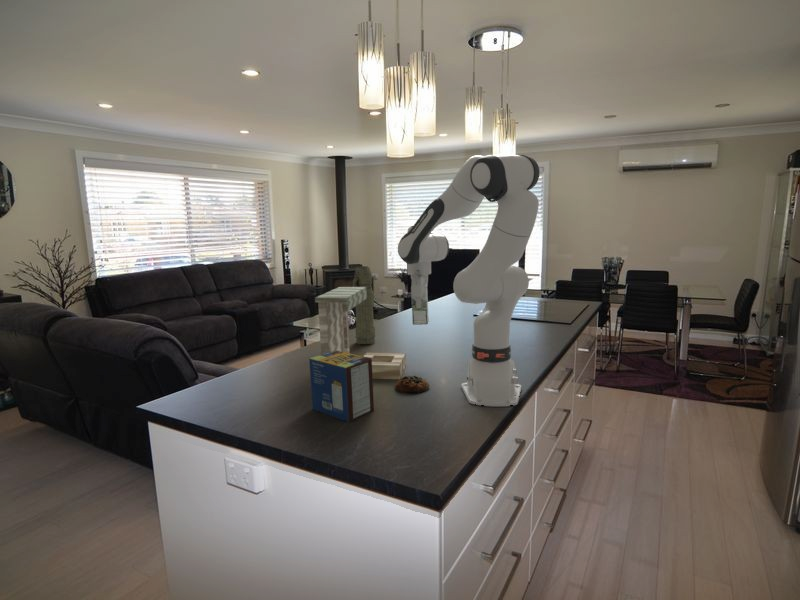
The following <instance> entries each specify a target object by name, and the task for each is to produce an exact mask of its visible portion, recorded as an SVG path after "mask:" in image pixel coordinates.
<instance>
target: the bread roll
mask: <svg viewBox="0 0 800 600" xmlns="http://www.w3.org/2000/svg"><path fill="white" fill-rule="evenodd" d="M430 386H431V385H430V383H429V382H428V381H427V380H426V379H425V378H423V377H420V376H416V375H413V376H412V375H411V376H410V375H408V376H407V375H406V376H403V377H401V378H400V379H398V380H397V382H396V383H395V385H394V388H395V390H396V391H397V392H400V393H402V394H408V395H416V394H417V395H418V394H421V393H424V392H426V391H427V390H429V389H430Z"/></svg>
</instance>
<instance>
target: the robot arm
mask: <svg viewBox="0 0 800 600" xmlns="http://www.w3.org/2000/svg"><path fill="white" fill-rule="evenodd" d="M539 179H540V167H539V164H538V163H537V161H536V160H535V159H534V158H532V157H531V156H528V155H526V154H525V155H524V154H510V153H499V154H488V155H484V156H483V155H480V154H479V155H478V154H477V155H473V156H471V157H469V158H468V159H467V160H466V162H464V164H463V165H462V166H461V167H460V169H459V171H457V173H456V175H455V176H454V177H453V179H452V181H451V182H450V184H449V185H448V186H447V188H446V189H445V190H444V192H442V193H441V195H439V196H438V197H437V198H436V199H434V200H433V201H431V203H430V204H429V205H427V207H426V208H425V209H424V211H423V212H422V214H421V215H420V216H419V218H418V219H417V220H416V222H415V223H414V224H413V225H411V226H410V227H408V228H407V233H405V234H403V236H402V237H401V238H400V240H399V241H398V245H397V254H398V256H399V257H400V259H401V260H402V261H403V262H404V263H406V270H407V271H406V272H407V275H408V276H410V279H411V286H412V297H413V298H415V300H416V308H421V307H422V303H421V299H422V296H423V295H424V285H425V284H427V287H428V284H429V275H431V274H432V262H439V261H442V260H445V259H446V258H447V256H448V255H449V252H450V251H449V250H450V243H449V241H448V238H447V237H446V236H445V235H444V234H441V233H438V232H436V231H434V230H435V228H437V227H438V226H439V225H442V224H443V223H446V222H449V221H452V220H456V219H460V218H461V219H462V218H466V217H467V216H470V215H472V214H473V212H475V211H476V210H477V209H478V208H479V206H480V205H481V204H482V202H483V201H484V199H486V200H487V201H488V202H489V203H494V202H497V211H496V214H495V216H494V220H493V222H492V226H491V227H490V231H489V234H488V235H487V236H488V237H487V239H486V241H485V244H484V246H483V248H482V249H481V251H480V252H479V253H478V254H477V256H476V257H475V258H474V260H473V261H472V262H471V263H470V264H469V265H467V267H465V268H463V269H462V270H460V271H459V272H458V273H457V274H456V276H455V277H454V280H453V283H452V284H453V286H452V287H453V292H454V295H455V296H456V298H457V299H458V301H460V302H461V303H465V304H473V305H474V304H475V305H478V304H485V306H484V308H483V309H482V311H481V312H480V313H479V314H478V315H477V316H476V317H475V318H474V321H473V343H472V346H471V347H472V348H471V356H472V357H471V359H470V360H469V361H467V371H466V372H467V374H466V381H467V382H462V383H461V386H460V387H461V390H462V392H463V393H464V395H465V398H466V399H467V401H468V403H469V404H472V405H475V404H476V405H477V406H481V405H484V406H483V407H511V406H510V405H513V406H517V405H518V404H519V400H520V397H521V393H520V392H521V391H522V389H521V388H522V385H521V384H520V383H519V377H518V376H516V375H517V372H518V371H517V369H516V365H515V364H516V363H515V362H514V360H512V356H511V355H512V354H511V353H512V348H511V347H512V346H511V344H510V335H511V334H510V331H511V330H510V329H511V321H512V317H513V313H514V310H515V308H516V306H517V304H518V302H519V301H520V300H521V298H522V297H523V296H524V295H525V294H526V293H527V291H528V289H529V285H530V284H529V283H530V281H529V276H528V274H527V272H526V270H524V268H522V267H521V266H516V265H515V264H516V263H518V262H519V261H520V260H521V258H522V257H523V255H524V252H525V251H526V247H527V245H528V243H529V240H530V238H531V235H532V234H533V233H532V232H533V229H534V227H535V223H536V221H537V216H538V213H539V212H538V211H539V205H540V202H539V198H538V197H537V195H536V194H535V193H534V192H532V191H531V189H533V188H534V187H535V186H536V185H537V184H538V181H539ZM412 297H411V298H412ZM519 396H520V397H519Z"/></svg>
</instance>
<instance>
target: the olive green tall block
mask: <svg viewBox="0 0 800 600" xmlns="http://www.w3.org/2000/svg"><path fill="white" fill-rule="evenodd" d="M354 271H355V272H354V277H353V278H352V279H353V280H352V287H367V299H365V300H364V301H362V302H361V303H359V304H358V305H356V306H355V307H354V308H355V321H356V323H355V324H356V327H355V329H354V330H355V339H356V340H355V341H356V344H357V345H358V344H371V345H373V344H372V343H374V342H375V343H376V327H375V325H374V324H375V322H374V321H375V320H374V305H375V301H374V300H375V286H374V285H375V283H374V282H375V281H374V280H375V279H374V277H373V275H372V271H371V267H369V266H365V265H364V266H362V265H361V266H357V267H355V270H354ZM375 343H374V344H375Z"/></svg>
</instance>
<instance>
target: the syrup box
mask: <svg viewBox="0 0 800 600" xmlns="http://www.w3.org/2000/svg"><path fill="white" fill-rule="evenodd" d="M410 294H411V314H412V315H411V316H412V318H411V319H412V325H414V326H415V325H418V326H419V325H420V326H421V325H428V324H429V322H430V321H429V301H428V297H429V296H428V294H429V293H428V286H427V284H425V285H424V295H423V296H422V299H421V303H422V307H421V308H416V300H415V298H413V297H412V285H411V287H410Z"/></svg>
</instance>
